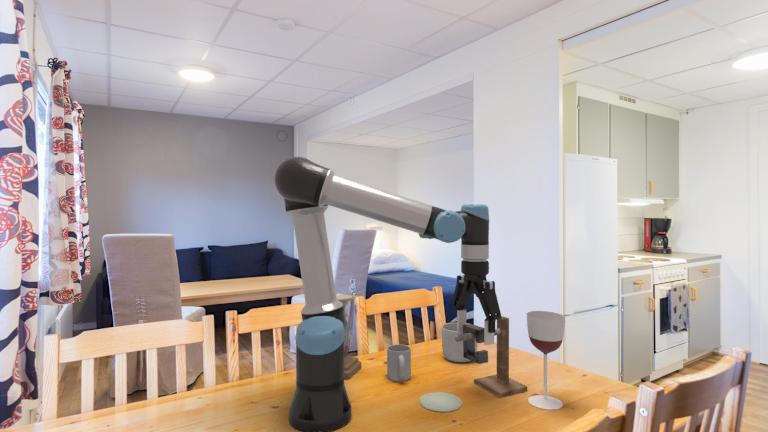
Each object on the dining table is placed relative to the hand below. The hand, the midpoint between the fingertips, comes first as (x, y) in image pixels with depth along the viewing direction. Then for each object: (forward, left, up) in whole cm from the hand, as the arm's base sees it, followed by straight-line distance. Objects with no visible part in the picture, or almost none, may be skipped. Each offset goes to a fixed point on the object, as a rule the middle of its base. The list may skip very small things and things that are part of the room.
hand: (474, 338), depth 121 cm
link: (0, 0, -6) cm, 6 cm away
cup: (-14, +18, -15) cm, 28 cm away
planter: (+13, +25, -15) cm, 32 cm away
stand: (+4, 0, -15) cm, 16 cm away
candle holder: (-28, +32, -15) cm, 45 cm away
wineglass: (+13, -13, -15) cm, 24 cm away
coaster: (-12, -1, -15) cm, 19 cm away
